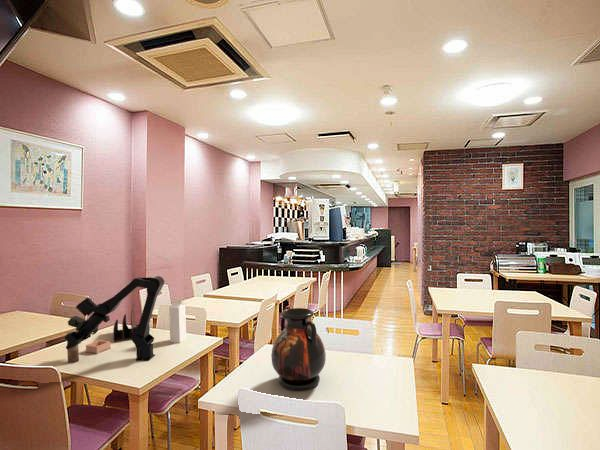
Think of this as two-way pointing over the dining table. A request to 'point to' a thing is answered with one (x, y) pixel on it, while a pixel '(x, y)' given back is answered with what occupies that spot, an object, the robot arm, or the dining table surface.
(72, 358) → the brown tall cylinder
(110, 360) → the dining table surface
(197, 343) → the dining table surface
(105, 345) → the pink open box
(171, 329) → the milk
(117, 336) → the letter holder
